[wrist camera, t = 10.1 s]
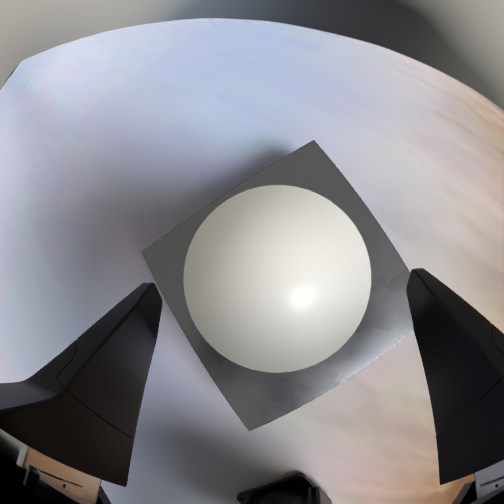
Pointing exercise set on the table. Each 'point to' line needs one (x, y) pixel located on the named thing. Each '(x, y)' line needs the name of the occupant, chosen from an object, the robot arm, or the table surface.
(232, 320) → the peg
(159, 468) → the table surface
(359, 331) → the collar
